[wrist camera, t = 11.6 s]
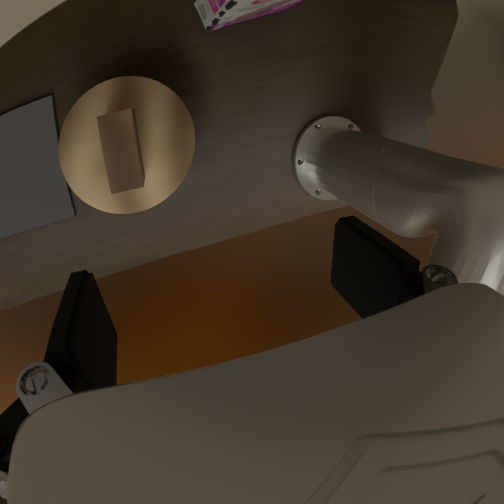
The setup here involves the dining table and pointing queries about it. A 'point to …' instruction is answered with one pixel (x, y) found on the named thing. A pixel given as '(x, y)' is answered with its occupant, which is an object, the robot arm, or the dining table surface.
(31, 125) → the mat
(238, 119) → the dining table surface
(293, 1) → the candy bar box
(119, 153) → the lid
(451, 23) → the dining table surface
